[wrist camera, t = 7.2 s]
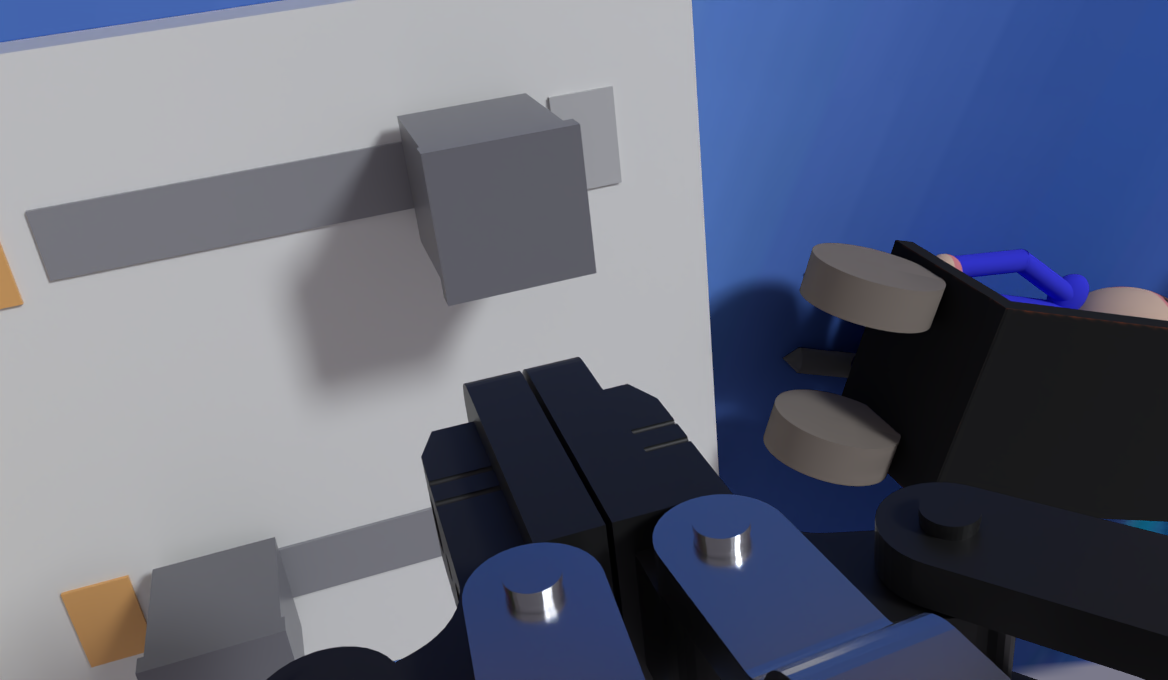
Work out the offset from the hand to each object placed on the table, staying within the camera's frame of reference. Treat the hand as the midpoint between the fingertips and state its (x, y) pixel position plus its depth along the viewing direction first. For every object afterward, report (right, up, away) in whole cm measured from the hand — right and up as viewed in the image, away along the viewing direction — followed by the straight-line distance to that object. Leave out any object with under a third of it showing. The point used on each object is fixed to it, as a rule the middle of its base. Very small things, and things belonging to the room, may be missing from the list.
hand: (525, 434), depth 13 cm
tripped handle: (-2, +5, +11) cm, 12 cm away
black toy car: (+12, +2, +21) cm, 24 cm away
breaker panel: (-6, +1, +14) cm, 16 cm away
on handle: (-8, -5, +14) cm, 17 cm away
